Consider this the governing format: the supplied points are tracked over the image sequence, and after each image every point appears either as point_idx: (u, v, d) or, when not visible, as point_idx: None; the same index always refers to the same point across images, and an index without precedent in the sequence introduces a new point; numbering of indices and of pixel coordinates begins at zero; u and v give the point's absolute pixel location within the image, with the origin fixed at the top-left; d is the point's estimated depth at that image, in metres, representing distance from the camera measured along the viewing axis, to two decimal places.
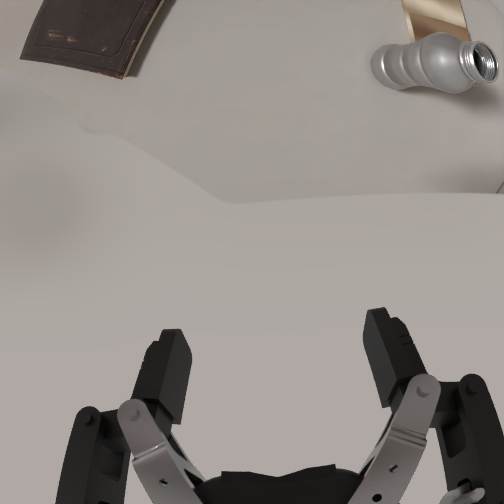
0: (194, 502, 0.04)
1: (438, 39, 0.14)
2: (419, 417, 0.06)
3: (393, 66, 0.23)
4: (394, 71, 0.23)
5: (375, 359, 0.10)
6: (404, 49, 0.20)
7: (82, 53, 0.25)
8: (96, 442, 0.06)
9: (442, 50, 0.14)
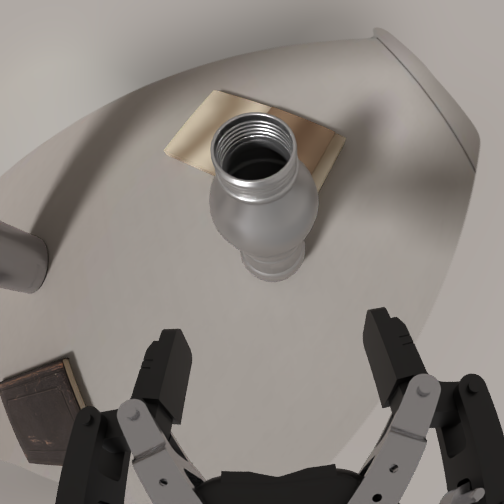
0: (194, 502, 0.04)
1: None
2: (419, 417, 0.06)
3: (258, 265, 0.23)
4: (266, 268, 0.23)
5: (375, 359, 0.10)
6: None
7: (65, 452, 0.25)
8: (96, 442, 0.06)
9: (225, 213, 0.14)
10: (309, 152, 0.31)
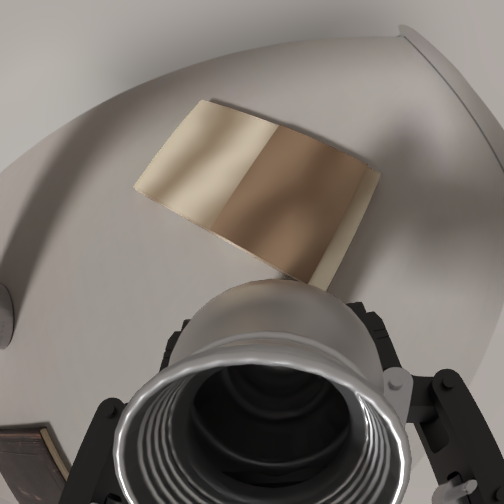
0: None
1: None
2: None
3: None
4: None
5: None
6: None
7: None
8: None
9: None
10: (332, 196, 0.22)
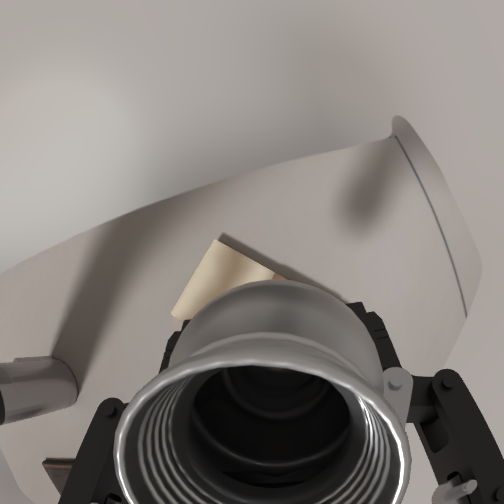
0: None
1: None
2: None
3: None
4: None
5: None
6: None
7: None
8: None
9: None
10: None
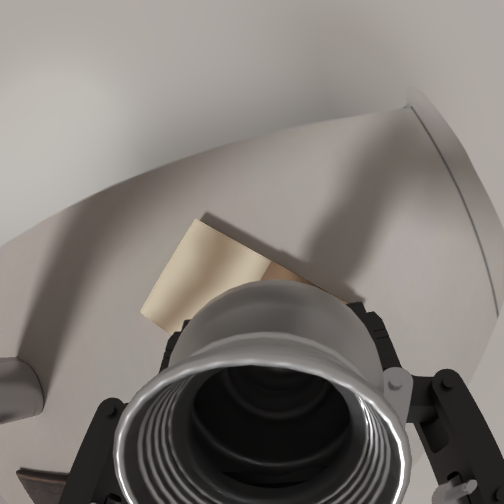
0: None
1: None
2: None
3: None
4: None
5: None
6: None
7: None
8: None
9: None
10: None
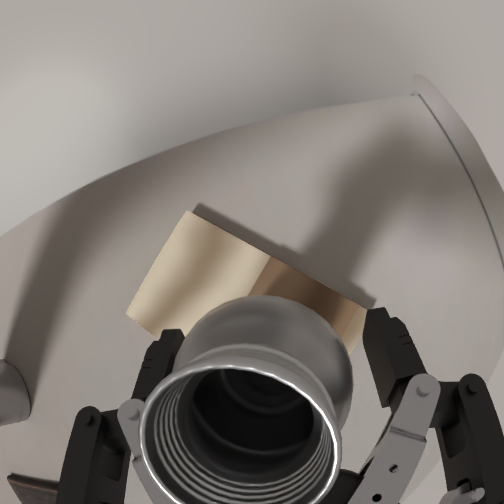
0: None
1: None
2: (419, 417, 0.06)
3: None
4: None
5: (375, 359, 0.10)
6: None
7: None
8: (96, 442, 0.06)
9: None
10: None
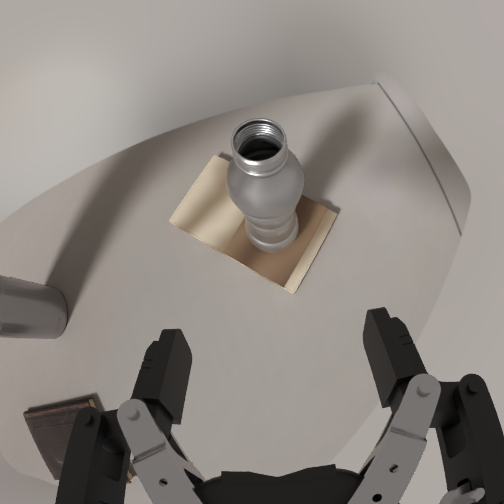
0: (194, 502, 0.04)
1: (229, 179, 0.21)
2: (419, 417, 0.06)
3: (260, 235, 0.29)
4: (266, 237, 0.29)
5: (375, 359, 0.10)
6: None
7: None
8: (96, 442, 0.06)
9: (238, 186, 0.20)
10: (301, 231, 0.36)
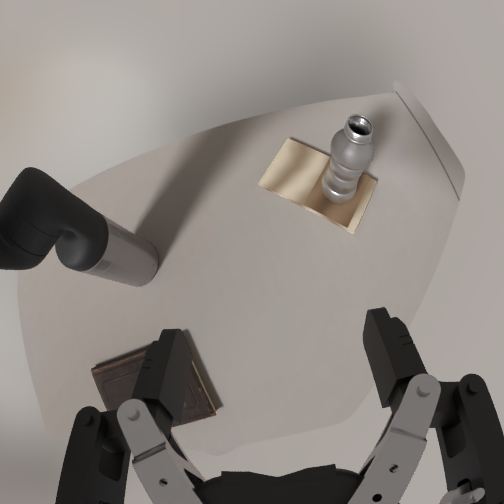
0: (194, 502, 0.04)
1: (336, 146, 0.35)
2: (419, 417, 0.06)
3: (339, 186, 0.42)
4: (343, 188, 0.42)
5: (375, 359, 0.10)
6: (332, 171, 0.41)
7: None
8: (96, 442, 0.06)
9: (344, 149, 0.33)
10: None
